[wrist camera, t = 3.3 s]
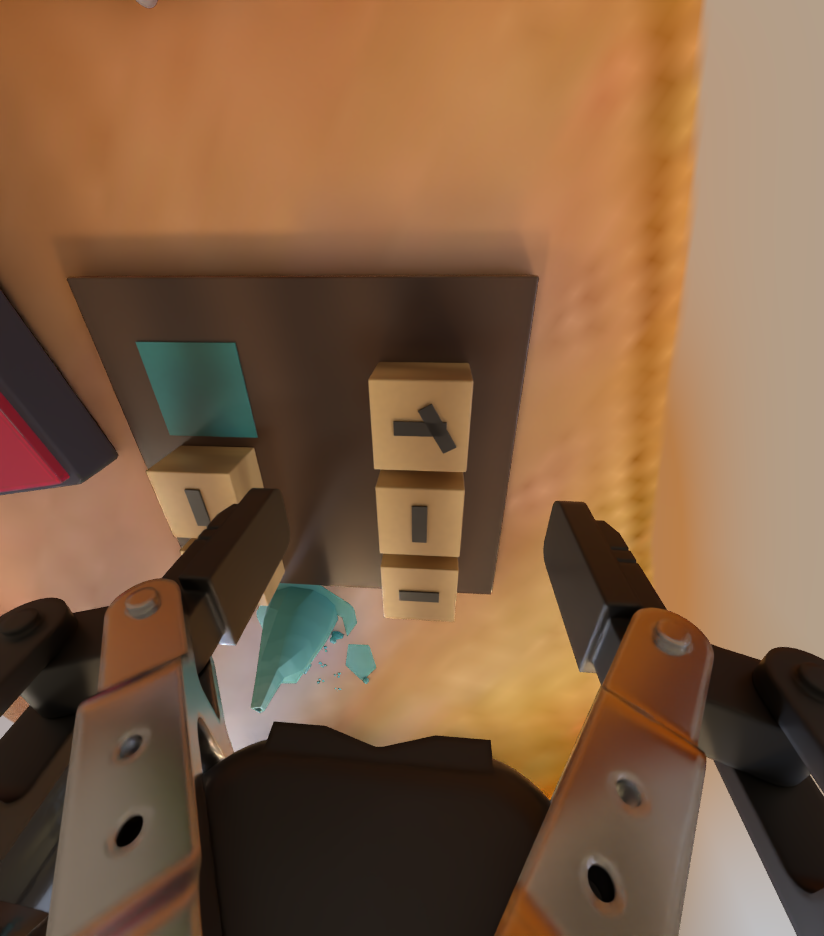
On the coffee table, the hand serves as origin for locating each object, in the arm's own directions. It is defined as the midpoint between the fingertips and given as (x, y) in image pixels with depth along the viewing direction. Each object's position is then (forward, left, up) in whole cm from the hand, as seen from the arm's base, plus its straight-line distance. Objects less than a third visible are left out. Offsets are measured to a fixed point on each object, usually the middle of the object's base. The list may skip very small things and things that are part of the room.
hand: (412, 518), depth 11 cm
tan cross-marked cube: (0, 0, -10) cm, 10 cm away
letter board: (-6, -4, -11) cm, 13 cm away
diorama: (-9, -22, -12) cm, 27 cm away
